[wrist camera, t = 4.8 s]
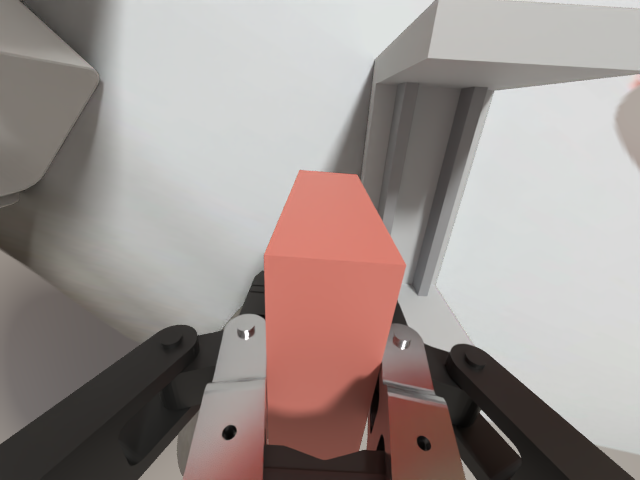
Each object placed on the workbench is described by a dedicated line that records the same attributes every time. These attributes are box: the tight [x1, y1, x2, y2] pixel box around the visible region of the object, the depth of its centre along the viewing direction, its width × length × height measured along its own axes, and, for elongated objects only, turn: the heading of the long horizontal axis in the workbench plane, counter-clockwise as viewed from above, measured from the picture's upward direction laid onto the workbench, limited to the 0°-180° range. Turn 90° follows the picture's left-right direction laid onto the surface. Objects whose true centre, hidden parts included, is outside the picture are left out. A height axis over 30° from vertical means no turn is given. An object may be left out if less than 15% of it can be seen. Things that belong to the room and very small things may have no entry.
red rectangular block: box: [264, 170, 406, 460], centre depth 12 cm, size 10×3×9 cm, turn 176°
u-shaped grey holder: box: [361, 0, 640, 352], centre depth 22 cm, size 24×10×14 cm, turn 177°
